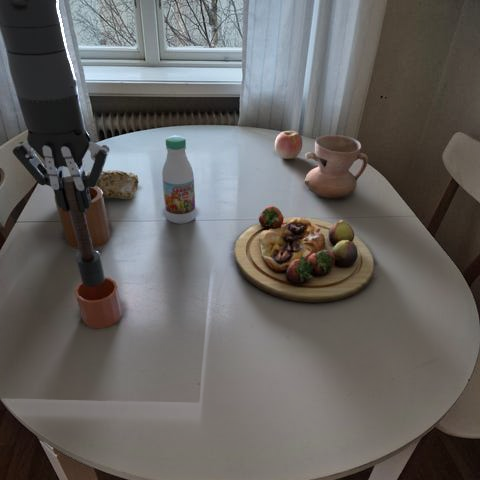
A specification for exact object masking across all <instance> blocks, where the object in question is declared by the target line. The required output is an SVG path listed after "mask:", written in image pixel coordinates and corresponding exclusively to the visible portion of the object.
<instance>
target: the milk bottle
mask: <svg viewBox="0 0 480 480" xmlns="http://www.w3.org/2000/svg"><path fill="white" fill-rule="evenodd" d="M165 146H166V147H165V149H166V150H167V151H166V152H167V153H166V157H165V161H164V164H163V167H162V174H161V178H162V179H161V180H162V191H163V201H164V203H163V204H164V213H165V218H166V219H167V221H168V222H171V223H173V224H174V223H175V224H186V223H190V222H192V221H193V220H194V219H195V218H196V194H195V177H194V171H193V167H192V164H191V163H190V161H189V159H188V157H187V153H186V150H187V140H186V138H185V137H183V136H181V135H171V136H168V137H166V139H165Z"/></svg>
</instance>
